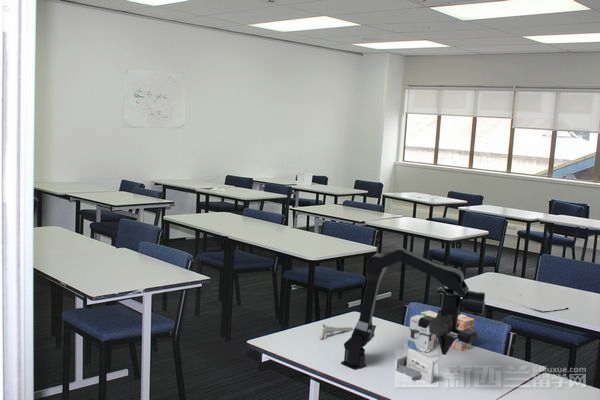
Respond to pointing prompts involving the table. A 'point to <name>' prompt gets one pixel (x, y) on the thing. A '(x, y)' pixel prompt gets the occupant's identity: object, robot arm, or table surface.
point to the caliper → (332, 330)
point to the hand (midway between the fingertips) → (443, 354)
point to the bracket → (407, 369)
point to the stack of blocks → (463, 324)
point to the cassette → (426, 367)
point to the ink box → (420, 335)
